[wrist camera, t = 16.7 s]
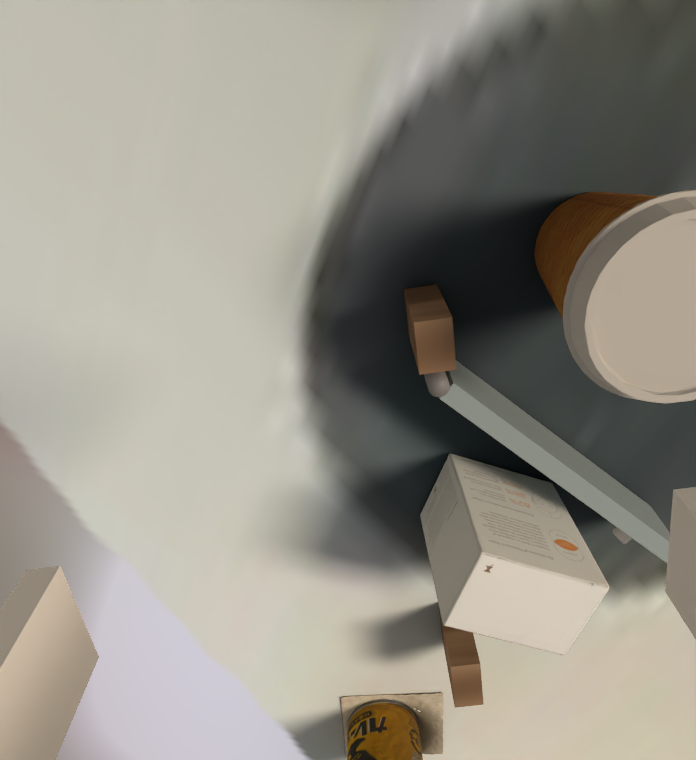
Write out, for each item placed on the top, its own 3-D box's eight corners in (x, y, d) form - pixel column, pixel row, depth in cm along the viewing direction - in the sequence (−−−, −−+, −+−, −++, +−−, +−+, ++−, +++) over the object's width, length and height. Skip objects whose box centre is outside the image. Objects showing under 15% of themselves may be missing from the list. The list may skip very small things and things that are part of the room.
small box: (418, 513, 46) (438, 627, 36) (448, 449, 44) (479, 552, 34) (520, 542, 47) (565, 660, 37) (554, 481, 45) (613, 589, 35)
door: (401, 364, 41) (409, 404, 36) (425, 336, 40) (437, 373, 35) (622, 525, 46) (657, 580, 41) (648, 503, 45) (686, 556, 40)
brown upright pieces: (403, 288, 39) (413, 322, 33) (436, 284, 39) (452, 317, 33) (442, 640, 51) (454, 707, 45) (468, 637, 51) (483, 704, 45)
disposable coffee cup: (652, 322, 40) (769, 411, 29) (499, 323, 40) (558, 413, 29) (686, 161, 36) (836, 194, 25) (515, 161, 36) (592, 195, 25)
